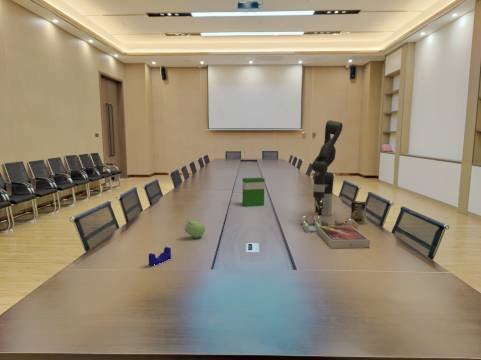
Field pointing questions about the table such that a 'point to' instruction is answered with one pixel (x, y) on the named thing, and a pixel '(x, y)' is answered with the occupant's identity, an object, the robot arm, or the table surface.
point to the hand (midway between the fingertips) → (318, 213)
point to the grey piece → (325, 223)
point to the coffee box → (358, 212)
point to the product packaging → (342, 237)
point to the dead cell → (349, 220)
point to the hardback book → (253, 192)
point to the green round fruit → (195, 229)
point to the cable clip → (160, 257)
